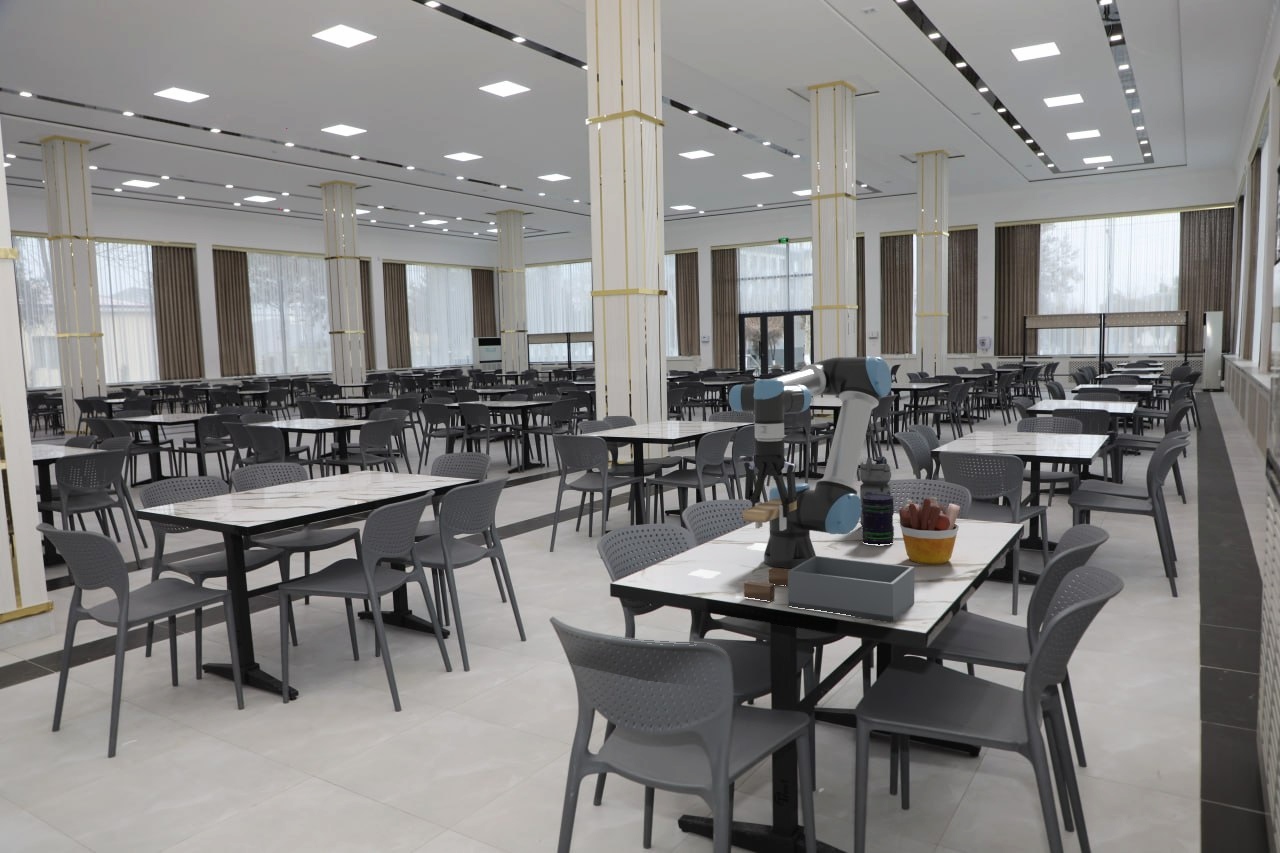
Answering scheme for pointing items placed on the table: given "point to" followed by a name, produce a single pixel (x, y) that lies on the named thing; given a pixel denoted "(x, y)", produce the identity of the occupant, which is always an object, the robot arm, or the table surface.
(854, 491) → the robot arm
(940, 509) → the bucket of meat
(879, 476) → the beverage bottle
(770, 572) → the wooden blocks
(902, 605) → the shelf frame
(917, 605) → the table surface
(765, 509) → the shelf board
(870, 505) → the storage jar
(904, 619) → the table surface
